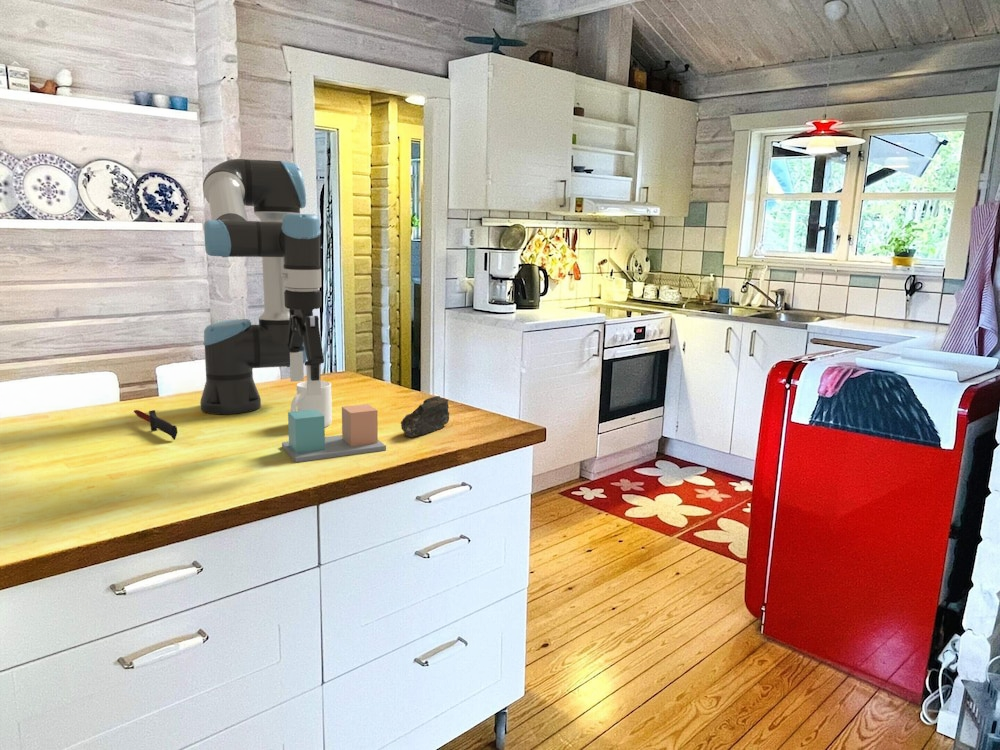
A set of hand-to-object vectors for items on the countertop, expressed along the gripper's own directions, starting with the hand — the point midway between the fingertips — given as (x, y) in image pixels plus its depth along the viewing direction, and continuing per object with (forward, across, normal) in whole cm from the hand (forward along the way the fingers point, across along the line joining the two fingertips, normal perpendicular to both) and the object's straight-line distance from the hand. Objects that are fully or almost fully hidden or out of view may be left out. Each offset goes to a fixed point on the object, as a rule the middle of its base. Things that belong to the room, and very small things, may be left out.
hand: (305, 387), depth 153 cm
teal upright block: (+13, +1, 0) cm, 13 cm away
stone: (+15, -4, +30) cm, 34 cm away
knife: (+15, -30, -28) cm, 44 cm away
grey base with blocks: (+14, +1, +6) cm, 15 cm away
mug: (+15, -19, +6) cm, 25 cm away
